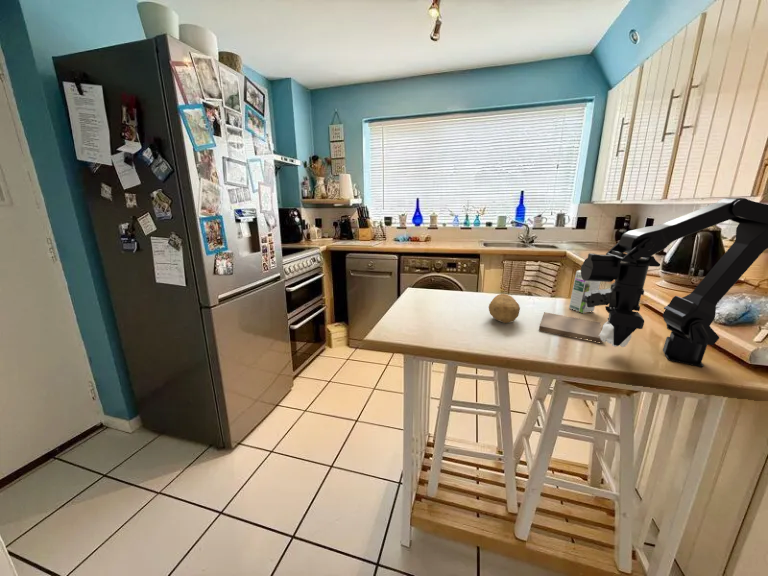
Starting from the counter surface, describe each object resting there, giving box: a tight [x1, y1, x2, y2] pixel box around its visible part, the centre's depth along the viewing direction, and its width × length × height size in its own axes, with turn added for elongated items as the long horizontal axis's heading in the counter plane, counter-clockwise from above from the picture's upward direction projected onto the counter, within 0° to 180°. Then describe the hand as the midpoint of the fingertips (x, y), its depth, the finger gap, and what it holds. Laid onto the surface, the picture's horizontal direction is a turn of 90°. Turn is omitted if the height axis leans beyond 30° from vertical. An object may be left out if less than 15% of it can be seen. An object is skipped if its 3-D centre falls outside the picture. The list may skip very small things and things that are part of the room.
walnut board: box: [538, 311, 603, 344], centre depth 95 cm, size 16×14×2 cm
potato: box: [488, 293, 521, 324], centre depth 100 cm, size 10×14×8 cm
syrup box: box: [568, 269, 601, 314], centre depth 109 cm, size 6×6×14 cm
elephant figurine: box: [599, 320, 632, 348], centre depth 79 cm, size 7×8×6 cm
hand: (614, 340), depth 79 cm, fingers closed on elephant figurine, 6 cm apart
